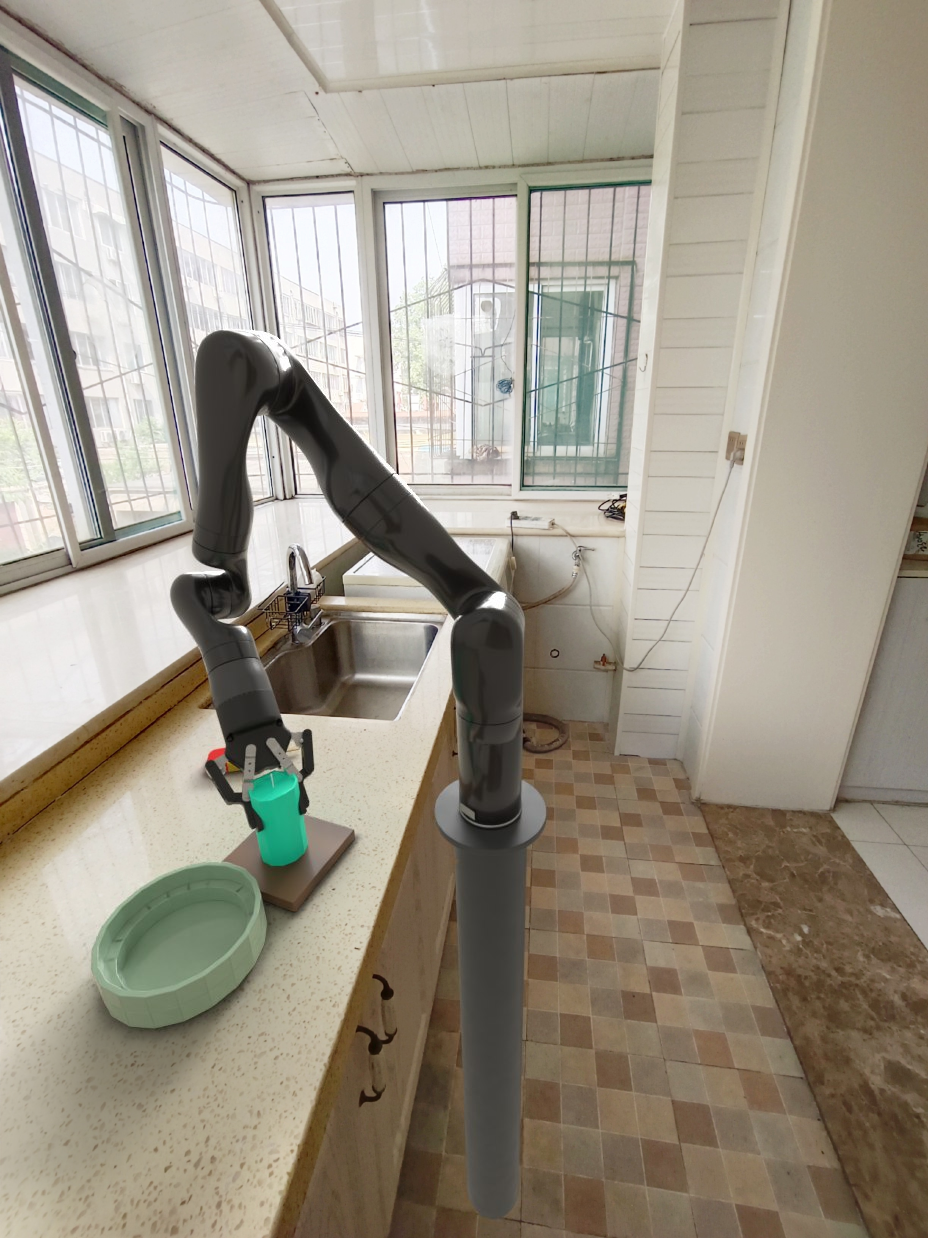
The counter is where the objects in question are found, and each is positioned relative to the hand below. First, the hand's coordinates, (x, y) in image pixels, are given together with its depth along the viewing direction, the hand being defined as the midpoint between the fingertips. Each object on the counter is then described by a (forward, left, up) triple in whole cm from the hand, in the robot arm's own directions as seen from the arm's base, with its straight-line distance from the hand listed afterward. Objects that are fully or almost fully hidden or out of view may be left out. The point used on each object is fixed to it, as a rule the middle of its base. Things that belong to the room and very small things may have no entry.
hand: (282, 821), depth 68 cm
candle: (-1, -2, -6) cm, 6 cm away
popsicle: (-17, -21, -8) cm, 28 cm away
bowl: (+14, -2, -7) cm, 16 cm away
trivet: (-1, -1, -7) cm, 8 cm away
